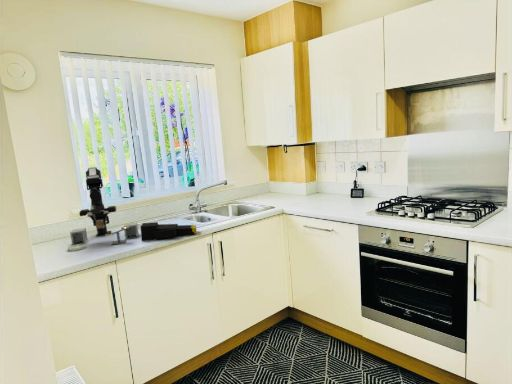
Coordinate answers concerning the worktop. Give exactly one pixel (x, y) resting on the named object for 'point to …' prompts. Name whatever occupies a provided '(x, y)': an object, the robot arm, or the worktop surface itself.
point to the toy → (165, 230)
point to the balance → (117, 236)
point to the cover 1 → (78, 235)
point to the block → (100, 224)
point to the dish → (76, 247)
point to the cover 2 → (131, 230)
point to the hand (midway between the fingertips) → (100, 225)
